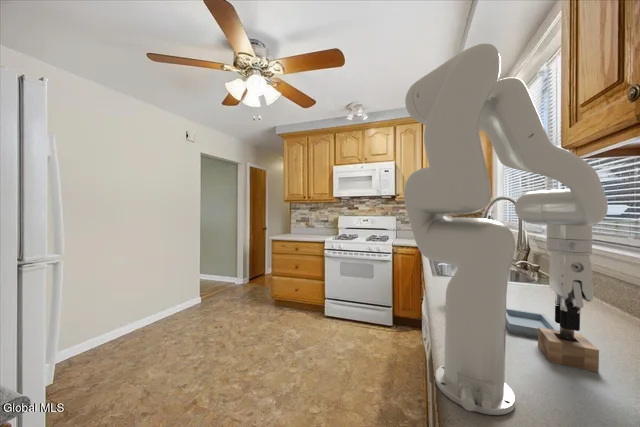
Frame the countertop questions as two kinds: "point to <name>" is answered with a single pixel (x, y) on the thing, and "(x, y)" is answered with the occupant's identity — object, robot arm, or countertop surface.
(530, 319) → the tray
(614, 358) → the countertop surface
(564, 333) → the pin
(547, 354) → the bore block
